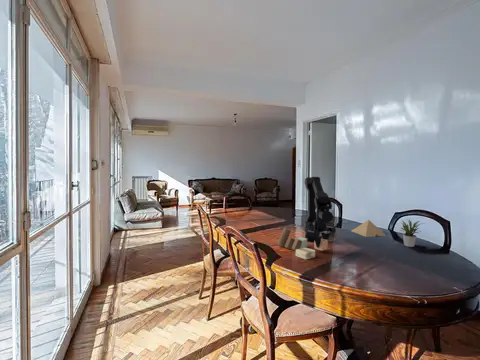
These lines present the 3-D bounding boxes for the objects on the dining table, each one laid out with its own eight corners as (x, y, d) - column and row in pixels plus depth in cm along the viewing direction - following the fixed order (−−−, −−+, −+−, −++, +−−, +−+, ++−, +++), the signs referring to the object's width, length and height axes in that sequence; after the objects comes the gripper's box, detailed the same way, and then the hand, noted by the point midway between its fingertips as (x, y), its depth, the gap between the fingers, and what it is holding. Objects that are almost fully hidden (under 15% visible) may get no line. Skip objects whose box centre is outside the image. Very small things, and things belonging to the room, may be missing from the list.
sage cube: (299, 245, 168) (299, 237, 168) (306, 247, 165) (307, 238, 165) (295, 247, 164) (295, 238, 164) (303, 249, 161) (303, 240, 161)
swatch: (306, 248, 163) (306, 247, 163) (315, 250, 158) (315, 249, 158) (299, 249, 159) (299, 249, 159) (308, 252, 154) (308, 251, 154)
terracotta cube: (319, 246, 160) (320, 237, 159) (327, 248, 156) (327, 239, 155) (314, 248, 157) (314, 239, 156) (321, 250, 153) (322, 241, 152)
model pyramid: (366, 237, 189) (366, 222, 188) (350, 231, 205) (350, 217, 205) (387, 236, 192) (388, 221, 192) (370, 230, 209) (371, 217, 209)
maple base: (305, 253, 153) (305, 247, 153) (314, 257, 147) (315, 251, 147) (295, 256, 149) (295, 249, 149) (305, 260, 144) (305, 253, 143)
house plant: (428, 245, 170) (429, 218, 169) (423, 250, 160) (424, 222, 159) (401, 241, 180) (402, 215, 178) (395, 245, 169) (396, 218, 168)
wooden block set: (299, 255, 157) (306, 238, 158) (287, 250, 154) (294, 233, 154) (283, 245, 174) (290, 229, 174) (272, 240, 171) (278, 225, 171)
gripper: (319, 214, 167) (319, 240, 168) (298, 218, 156) (298, 246, 157) (336, 217, 158) (335, 245, 159) (315, 221, 147) (314, 251, 148)
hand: (320, 246), depth 156 cm, fingers closed on terracotta cube, 5 cm apart
